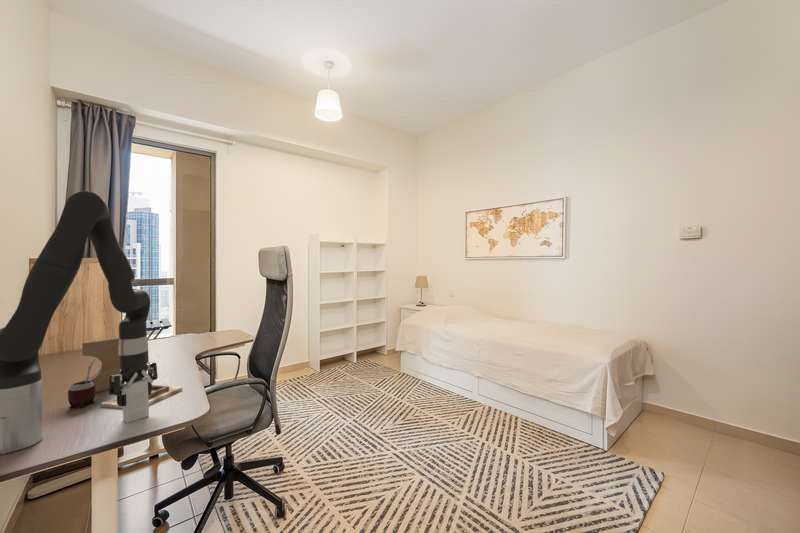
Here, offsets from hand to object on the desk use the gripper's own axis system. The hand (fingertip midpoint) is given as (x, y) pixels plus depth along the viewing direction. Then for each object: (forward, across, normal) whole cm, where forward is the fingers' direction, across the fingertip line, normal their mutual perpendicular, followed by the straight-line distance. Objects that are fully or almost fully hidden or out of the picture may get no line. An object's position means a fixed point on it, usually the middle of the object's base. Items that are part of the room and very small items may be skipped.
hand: (135, 400), depth 108 cm
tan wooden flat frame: (+6, -14, -12) cm, 19 cm away
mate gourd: (+6, -5, -28) cm, 29 cm away
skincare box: (+6, 0, 0) cm, 6 cm away
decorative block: (+6, -18, -37) cm, 42 cm away
